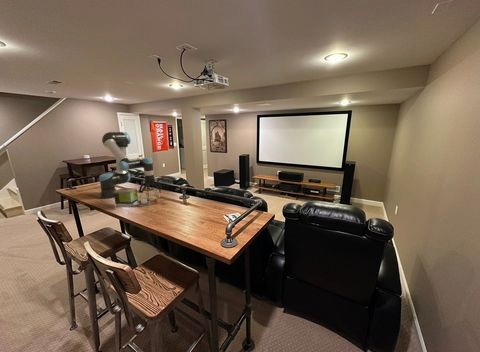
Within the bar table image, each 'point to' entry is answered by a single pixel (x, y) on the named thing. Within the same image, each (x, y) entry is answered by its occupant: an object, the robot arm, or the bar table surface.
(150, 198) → the beige wooden block
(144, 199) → the tan block
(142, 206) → the grey brown flat frame
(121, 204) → the tea box
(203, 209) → the bar table surface
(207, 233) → the bar table surface
